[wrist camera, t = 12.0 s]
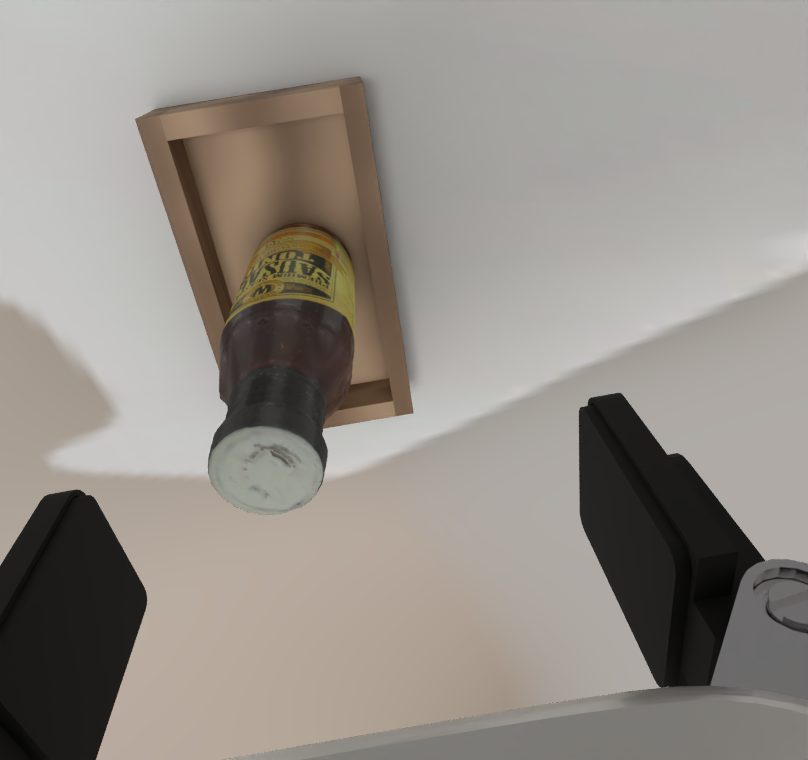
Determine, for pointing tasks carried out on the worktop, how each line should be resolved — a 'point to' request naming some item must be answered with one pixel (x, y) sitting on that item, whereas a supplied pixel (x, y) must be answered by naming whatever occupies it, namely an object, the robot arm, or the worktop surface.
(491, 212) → the worktop surface
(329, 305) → the sauce bottle
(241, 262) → the bottle tray
